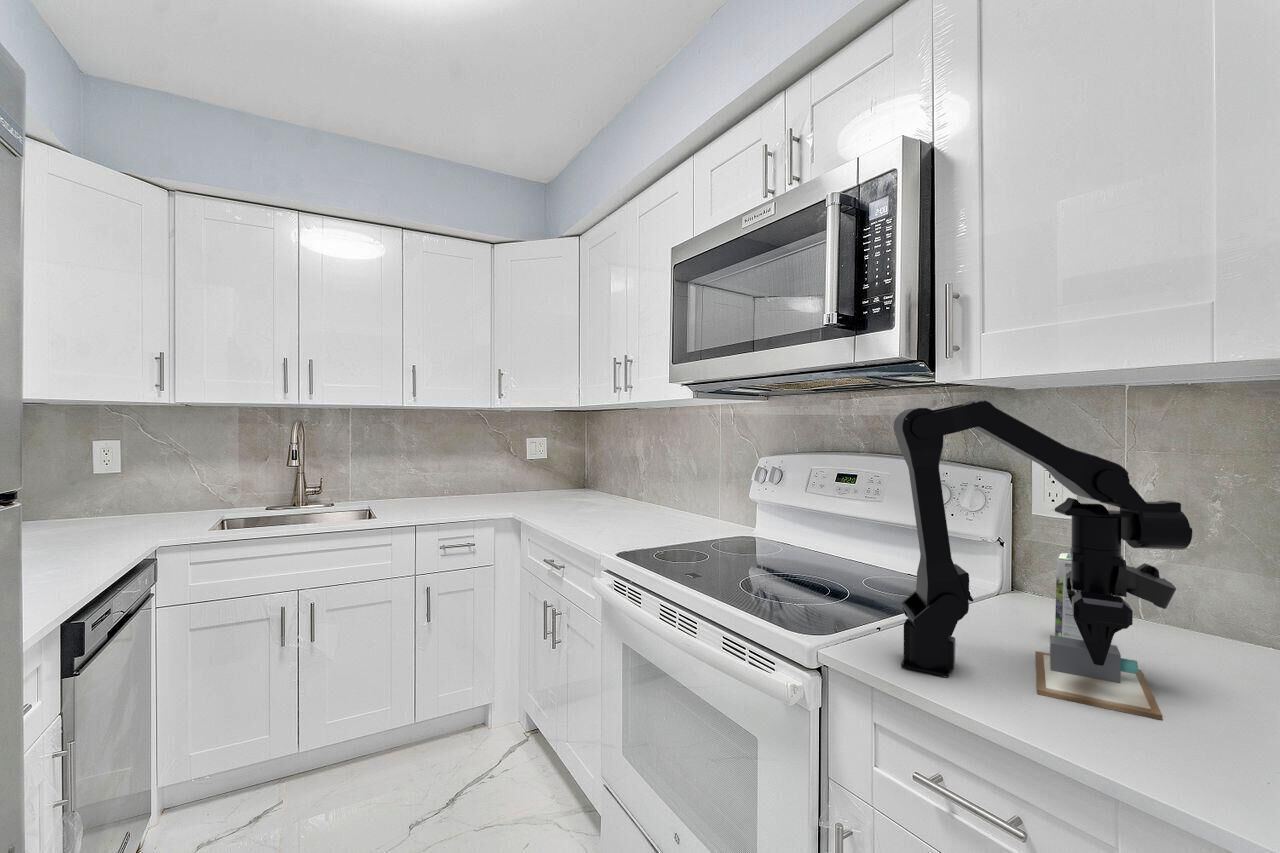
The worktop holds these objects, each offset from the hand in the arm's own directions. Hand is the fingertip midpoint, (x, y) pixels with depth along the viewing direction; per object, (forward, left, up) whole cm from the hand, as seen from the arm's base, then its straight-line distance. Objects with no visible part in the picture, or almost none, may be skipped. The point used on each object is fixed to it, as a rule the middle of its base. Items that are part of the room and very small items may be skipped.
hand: (1095, 653), depth 85 cm
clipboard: (-1, -2, -4) cm, 4 cm away
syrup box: (-1, +16, -4) cm, 17 cm away
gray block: (0, 0, -3) cm, 3 cm away
